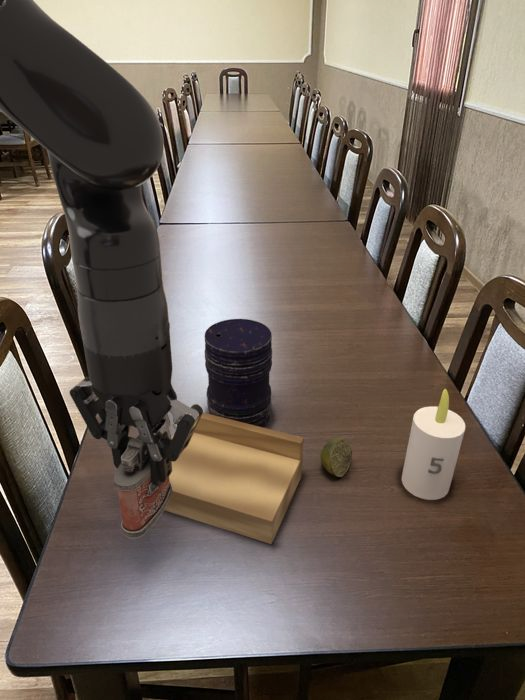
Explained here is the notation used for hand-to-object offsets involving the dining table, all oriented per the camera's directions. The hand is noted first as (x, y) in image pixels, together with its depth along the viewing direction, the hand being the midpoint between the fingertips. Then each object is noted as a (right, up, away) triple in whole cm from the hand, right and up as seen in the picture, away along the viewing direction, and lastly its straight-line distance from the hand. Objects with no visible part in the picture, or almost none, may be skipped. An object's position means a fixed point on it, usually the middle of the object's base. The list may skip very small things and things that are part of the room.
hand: (144, 474), depth 56 cm
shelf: (+7, -6, +15) cm, 18 cm away
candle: (+34, -5, +17) cm, 39 cm away
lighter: (0, -5, +3) cm, 5 cm away
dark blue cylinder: (+9, +2, +29) cm, 30 cm away
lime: (+23, -4, +19) cm, 30 cm away
